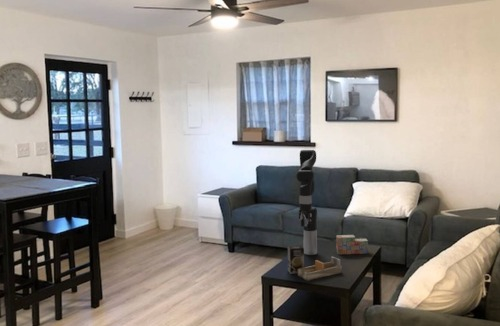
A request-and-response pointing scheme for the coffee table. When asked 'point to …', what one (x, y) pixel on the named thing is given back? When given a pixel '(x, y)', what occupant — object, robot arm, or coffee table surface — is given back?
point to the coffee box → (295, 258)
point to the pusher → (319, 265)
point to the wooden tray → (328, 270)
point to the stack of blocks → (351, 245)
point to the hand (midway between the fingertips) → (305, 227)
